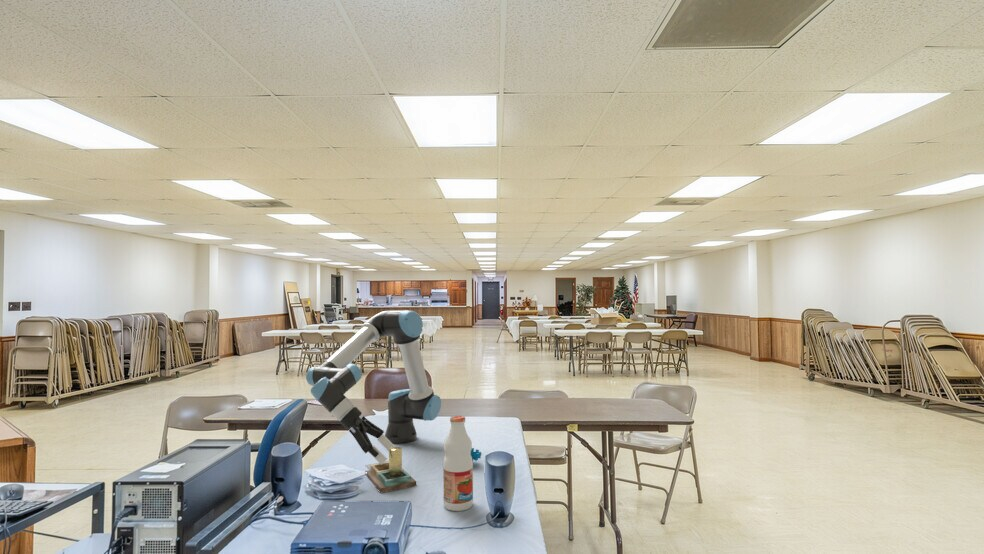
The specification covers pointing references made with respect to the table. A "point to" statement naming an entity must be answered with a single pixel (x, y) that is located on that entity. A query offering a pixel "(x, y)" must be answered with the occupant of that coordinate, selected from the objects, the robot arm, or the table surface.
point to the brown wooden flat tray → (380, 478)
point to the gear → (475, 454)
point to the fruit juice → (458, 467)
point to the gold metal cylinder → (395, 463)
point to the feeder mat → (372, 464)
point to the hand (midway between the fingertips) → (388, 455)
